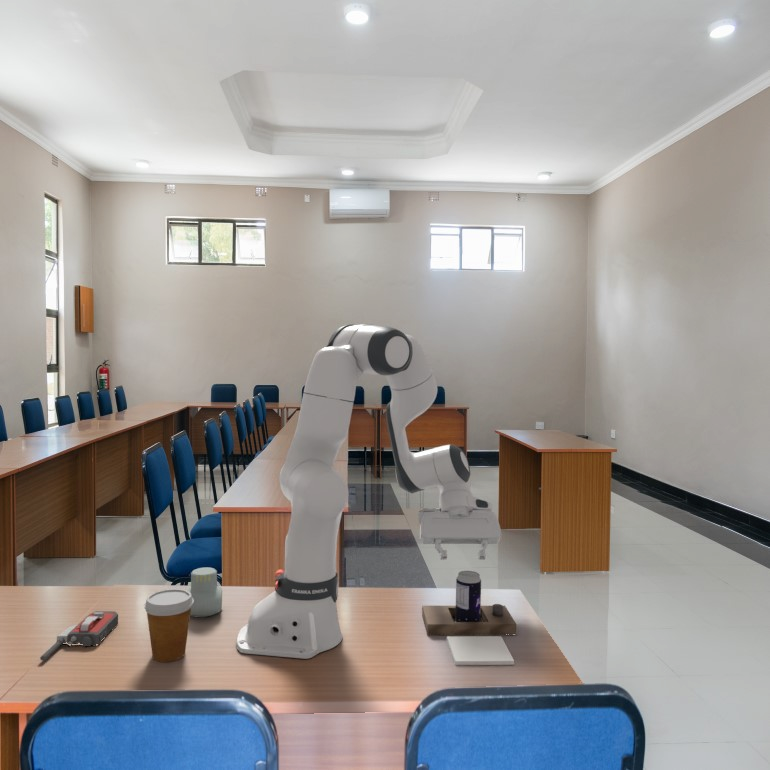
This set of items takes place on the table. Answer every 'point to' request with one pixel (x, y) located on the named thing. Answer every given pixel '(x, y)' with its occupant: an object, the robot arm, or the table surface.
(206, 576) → the air freshener
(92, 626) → the walkie-talkie
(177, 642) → the disposable coffee cup
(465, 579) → the beverage can
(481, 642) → the pad
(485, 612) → the base
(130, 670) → the table surface
